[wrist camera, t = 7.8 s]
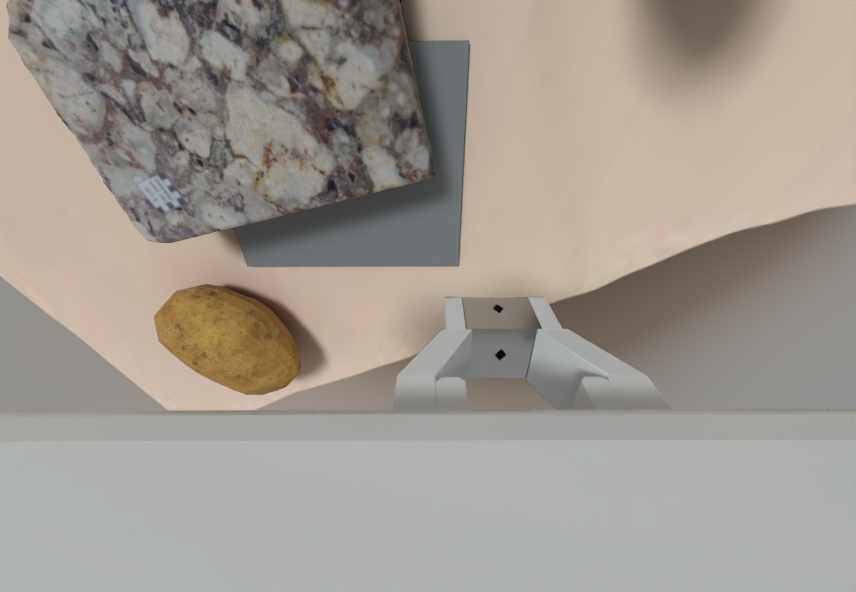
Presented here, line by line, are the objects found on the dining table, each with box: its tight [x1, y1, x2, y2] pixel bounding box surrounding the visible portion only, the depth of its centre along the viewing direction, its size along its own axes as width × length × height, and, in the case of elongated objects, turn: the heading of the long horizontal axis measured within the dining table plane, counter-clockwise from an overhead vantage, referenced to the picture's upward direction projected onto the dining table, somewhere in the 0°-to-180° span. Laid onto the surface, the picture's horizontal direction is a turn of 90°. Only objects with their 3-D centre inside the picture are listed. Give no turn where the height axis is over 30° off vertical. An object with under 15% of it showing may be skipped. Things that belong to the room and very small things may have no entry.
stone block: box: [7, 0, 435, 243], centre depth 20 cm, size 13×7×20 cm
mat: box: [234, 41, 469, 266], centre depth 25 cm, size 19×16×1 cm
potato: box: [154, 284, 301, 395], centre depth 31 cm, size 9×13×7 cm
